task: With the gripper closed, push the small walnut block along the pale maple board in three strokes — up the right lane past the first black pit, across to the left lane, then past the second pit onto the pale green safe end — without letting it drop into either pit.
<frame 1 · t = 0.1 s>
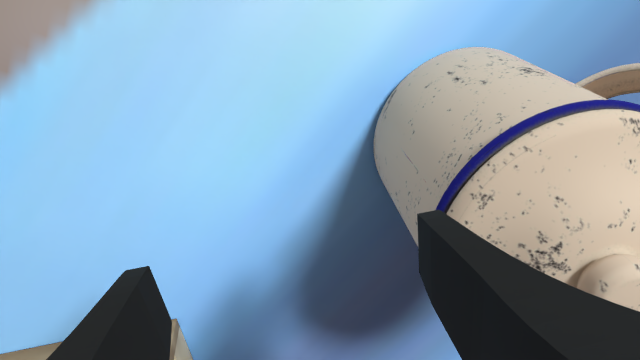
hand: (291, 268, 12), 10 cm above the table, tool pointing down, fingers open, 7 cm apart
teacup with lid: (481, 115, 22), on the table
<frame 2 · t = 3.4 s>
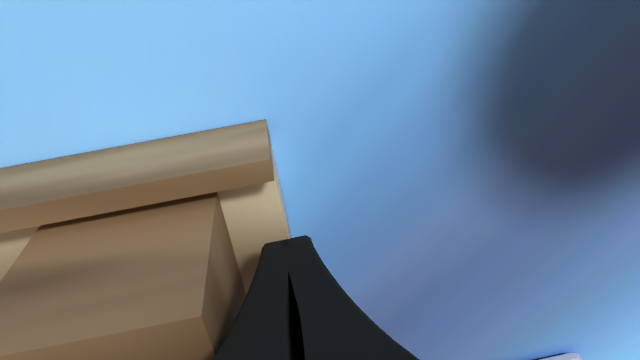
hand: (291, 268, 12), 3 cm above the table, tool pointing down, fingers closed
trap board: (16, 337, 16), on the table
walnut block: (157, 272, 13), point 2 cm above the table, touching gripper, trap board
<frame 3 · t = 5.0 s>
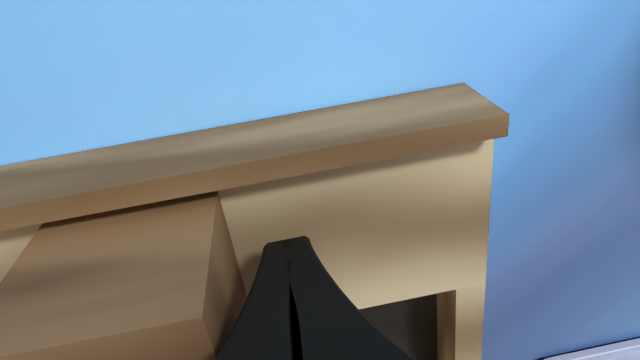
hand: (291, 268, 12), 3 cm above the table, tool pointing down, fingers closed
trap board: (187, 301, 16), on the table
walnut block: (157, 272, 13), point 2 cm above the table, touching gripper, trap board
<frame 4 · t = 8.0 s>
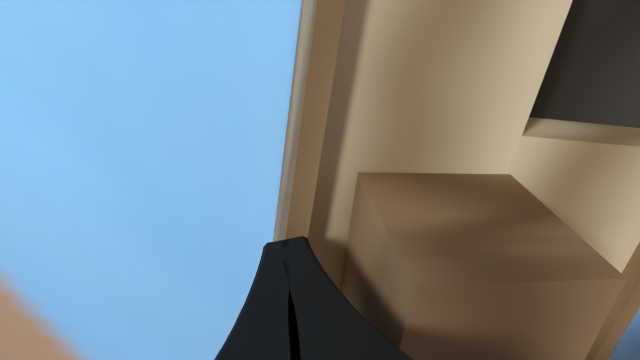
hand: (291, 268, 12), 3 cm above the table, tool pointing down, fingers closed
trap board: (454, 213, 16), on the table
walnut block: (420, 239, 14), point 2 cm above the table, touching gripper
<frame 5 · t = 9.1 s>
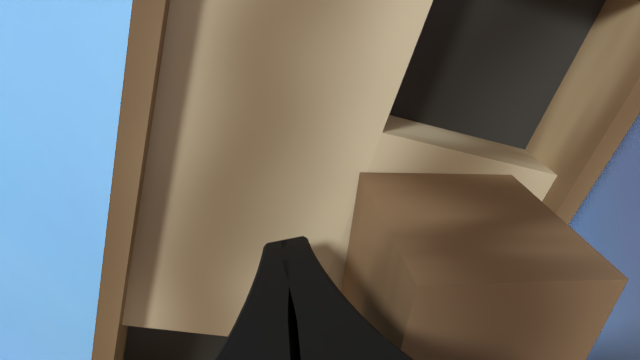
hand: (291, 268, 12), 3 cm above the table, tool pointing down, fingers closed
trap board: (327, 212, 15), on the table
walnut block: (421, 240, 14), point 2 cm above the table, touching gripper, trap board
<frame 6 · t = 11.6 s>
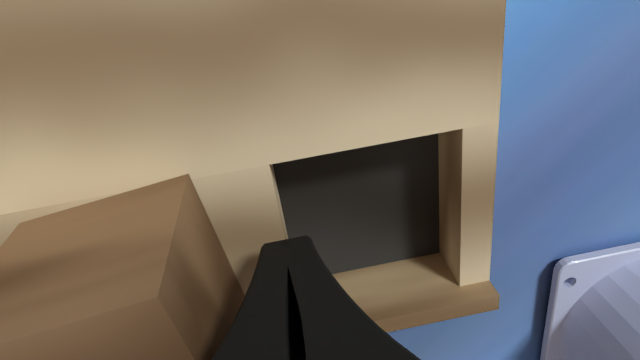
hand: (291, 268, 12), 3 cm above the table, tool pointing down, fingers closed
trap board: (138, 158, 13), on the table
walnut block: (142, 264, 13), point 2 cm above the table, touching gripper, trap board
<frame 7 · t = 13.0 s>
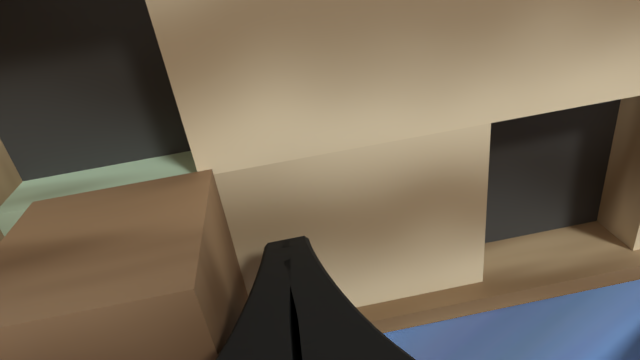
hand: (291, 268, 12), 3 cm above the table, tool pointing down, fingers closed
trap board: (338, 121, 14), on the table
walnut block: (151, 254, 13), point 2 cm above the table, touching gripper, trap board
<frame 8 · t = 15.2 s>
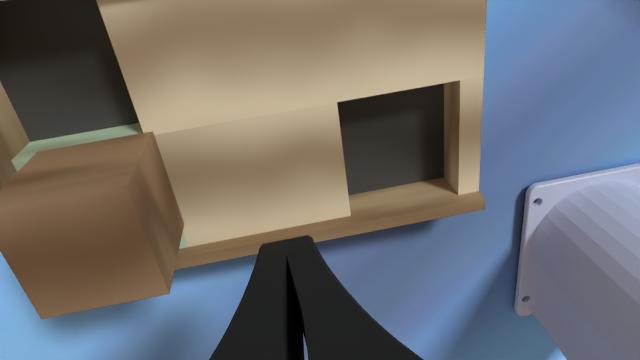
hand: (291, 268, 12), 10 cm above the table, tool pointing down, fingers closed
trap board: (244, 102, 20), on the table
walnut block: (115, 190, 19), point 2 cm above the table, touching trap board
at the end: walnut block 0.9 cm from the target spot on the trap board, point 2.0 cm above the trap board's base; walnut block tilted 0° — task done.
